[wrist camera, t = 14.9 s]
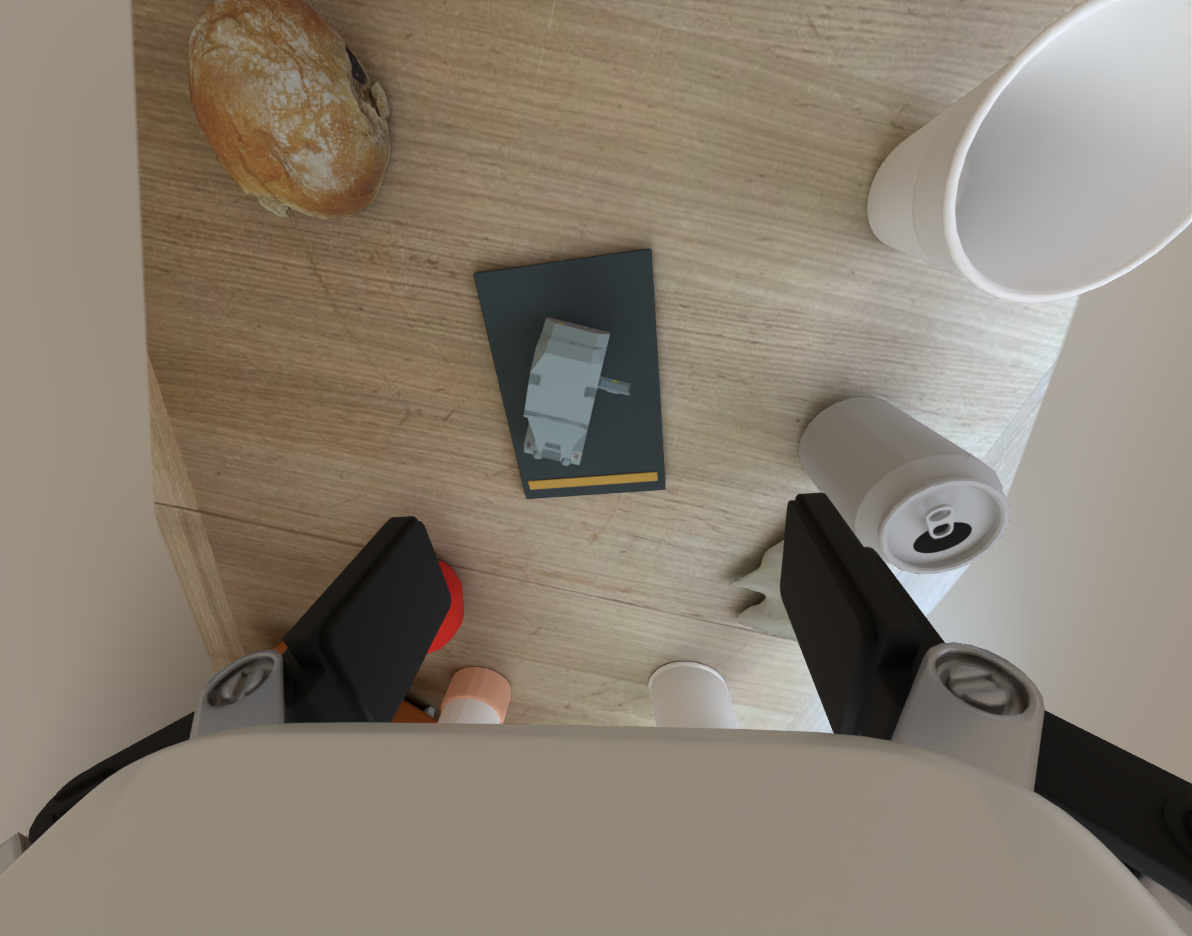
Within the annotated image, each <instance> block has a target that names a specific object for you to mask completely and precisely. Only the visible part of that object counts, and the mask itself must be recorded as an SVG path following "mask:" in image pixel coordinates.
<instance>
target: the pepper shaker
mask: <svg viewBox="0 0 1192 936" xmlns="http://www.w3.org/2000/svg"><path fill="white" fill-rule="evenodd" d="M510 697H511V687H510V684H509V682H508V681H507V680H506V679H505V678H504V677H503V676H502V675H500V674H498V673H497V672H495V671H492V670H490V669H487V668H481V667H467V668H464V669H461V670H459V671H457V672H456V673H455V674H454V676H453V678H452V680H451V682H450V685H449V687H448V689H447V692H446V694H445V697H444V699H443V701H442V704H441V715H440V718H439V720H438V722H437V723H465V724H503V722H504V719H505V715H506V712H507V708H508V704H509V700H510Z"/></svg>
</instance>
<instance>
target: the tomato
mask: <svg viewBox="0 0 1192 936" xmlns="http://www.w3.org/2000/svg"><path fill="white" fill-rule="evenodd" d="M438 562H439V565H440V567H441V570H442V573H443V575H444V578H445V580H446V583H447V586H448V588H449V591H450V593H451V598H452V601H451V607H450V609H449V611H448V613H447V615H446V617H445V619H444V621H443V623H442V625H441V627H440V629H439V631H438V633H437V635H436V637H435V639H434V641H433V643H432V644H431V646H430V648H429V650H428V652H427V654H429V653H431V652H434V651H437V650H440V649H441V648H442V647H443V646H444V645H445V644H447V643H448V642H449V641H450V640H451V638H452V637H453V636H454V635H455V633H456V632H457V630H458V629H459V627H460V626H461V624H462V620H463V616H464V602H463V592H462V583H461V581H460V580H459V578H458V576H457V575H456V573H455V572H454V570H453V569H452V568H451V567H450V566H449V565H447V564H446V563H445V562H443V561H440V560H438Z"/></svg>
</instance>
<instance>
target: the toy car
mask: <svg viewBox="0 0 1192 936" xmlns="http://www.w3.org/2000/svg"><path fill="white" fill-rule="evenodd" d="M609 336H610V332H606V331H602V330H598V329H594V328H591V329H590V328H589V327H586V326H582V325H578V324H574V323H570V322H566V321H562V320H558V319H554V318H550V317H547V318H546V320H545V323H544V327H543V330H542V333H541V336H540V338H539V341H538V344H537V346H536V349H535V354H534V358H533V363H532V367H531V371H530V377H529V384H528V390H527V397H526V404H525V410H524V417H527V418H528V421H529V425H528V429H527V434H526V438H525V443H524V452H525V453H529V454H533V457H534V458H535V459H541V458H542V457H543V458H548V459H552V460H556V461H561V464H562V465H565V466H568V465H570V463H572V464H576V465H580V460H581V456H582V452H583V447H584V443H585V439H586V435H587V430H588V426H589V422H590V418H591V413H592V409H593V405H594V400H595V396H596V392H597V388H600V389H604V390H607V392H611V393H615V394H618V393H621V394H625V395H630V383H626V382H622V381H618V380H614V379H610V378H606V377H602V376H600V374H601V370H602V366H603V361H604V357H605V353H606V349H607V344H608V340H609Z"/></svg>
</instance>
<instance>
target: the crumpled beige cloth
mask: <svg viewBox="0 0 1192 936" xmlns="http://www.w3.org/2000/svg"><path fill="white" fill-rule="evenodd" d="M783 547H784V539H783V540H782V541H781V542H780V543H778V544H776V545H775V546H773V547H771V548H769V549H768V550H767V551H766V553H765V554H764V556H763V558H762V562H761V566H760V567H759V568H758V569H757V570H755V571H753V572H751V573H749V574H747V575H745V576H744V577H742V578H740V579H736V580H734V581H732V582H731V583H730V584H729V585H730V586H731V587H743V588H747V589H750V590H752V591H758V592H760V593H762V594H764V595H765V596H766V598H765V599H764V600H763V601H762V602H761V603H760V604H758V605H752V606H750V607H749V608H748V609H745V610H744V611H743V612H742V613H740V614H739V615H737V619H738V621H739V622H740V623H741V624H743V625H745V626H749V627H751V628H753V629H755V630H759V631H763V632H765V633H766V634H769V635H777V636H782V637H786V638H789V639H791V640H793V641H797V642H798V640H797V638H796V635H795V633H794V630H793V627H792V625H791V622H790V620H789V617H788V615H787V612H786V609H785V607H784V604H783V602H782V599H781V594H780V578H781V567H782V557H783Z"/></svg>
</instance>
